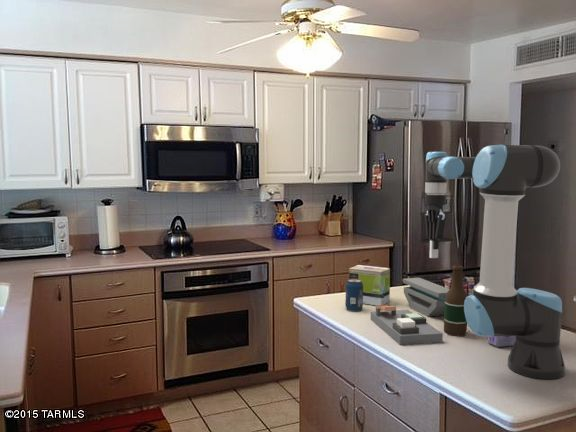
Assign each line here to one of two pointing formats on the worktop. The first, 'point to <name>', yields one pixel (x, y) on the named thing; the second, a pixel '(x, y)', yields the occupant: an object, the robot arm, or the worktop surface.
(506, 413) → the worktop surface
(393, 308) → the rocker switch
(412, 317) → the green button
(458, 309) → the beer bottle
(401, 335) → the control console
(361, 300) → the soda can
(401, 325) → the white button
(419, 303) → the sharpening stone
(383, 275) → the tea box
